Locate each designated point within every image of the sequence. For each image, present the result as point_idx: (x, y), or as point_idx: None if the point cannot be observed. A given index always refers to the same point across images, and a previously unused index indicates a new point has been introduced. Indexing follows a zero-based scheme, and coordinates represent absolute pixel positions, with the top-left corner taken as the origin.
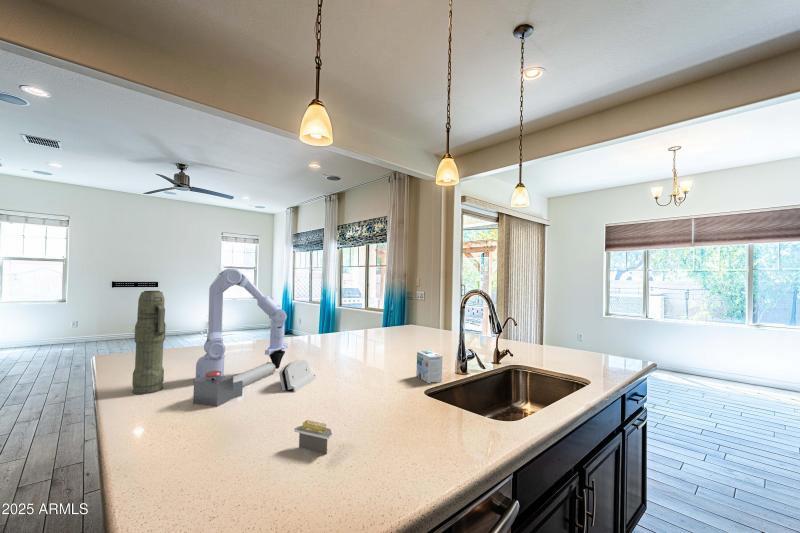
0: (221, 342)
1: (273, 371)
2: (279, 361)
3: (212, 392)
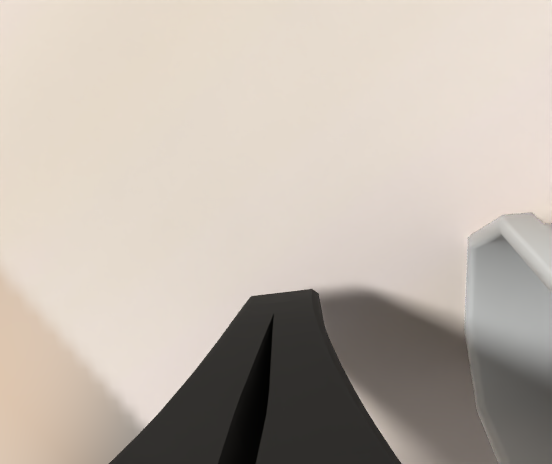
0: None
1: (547, 224)
2: (246, 399)
3: None
